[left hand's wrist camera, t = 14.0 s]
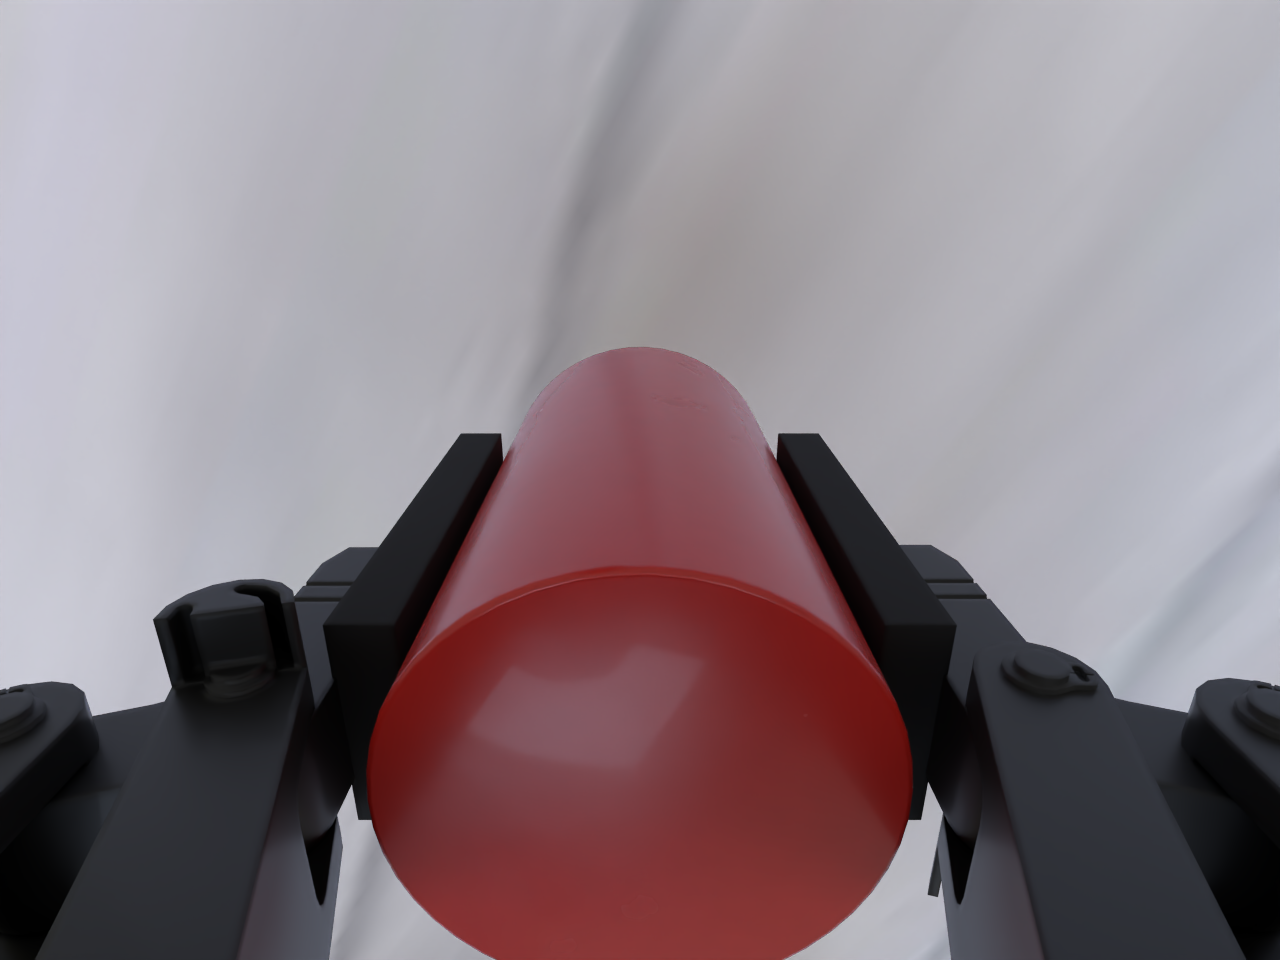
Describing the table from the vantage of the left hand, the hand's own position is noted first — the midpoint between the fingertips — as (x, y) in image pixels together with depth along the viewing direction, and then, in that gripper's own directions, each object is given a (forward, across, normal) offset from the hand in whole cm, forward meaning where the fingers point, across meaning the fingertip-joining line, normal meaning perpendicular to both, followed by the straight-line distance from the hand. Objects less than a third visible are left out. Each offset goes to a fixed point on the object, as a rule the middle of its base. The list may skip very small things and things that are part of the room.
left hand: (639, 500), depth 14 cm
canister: (+1, 0, 0) cm, 1 cm away
